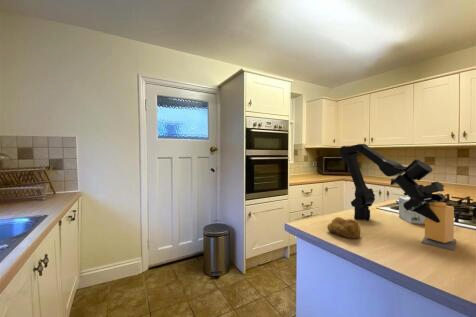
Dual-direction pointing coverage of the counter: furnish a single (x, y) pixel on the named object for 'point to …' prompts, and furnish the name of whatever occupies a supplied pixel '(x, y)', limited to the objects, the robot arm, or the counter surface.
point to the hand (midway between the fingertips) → (443, 221)
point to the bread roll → (344, 228)
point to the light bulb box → (409, 213)
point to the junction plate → (439, 243)
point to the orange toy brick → (440, 223)
